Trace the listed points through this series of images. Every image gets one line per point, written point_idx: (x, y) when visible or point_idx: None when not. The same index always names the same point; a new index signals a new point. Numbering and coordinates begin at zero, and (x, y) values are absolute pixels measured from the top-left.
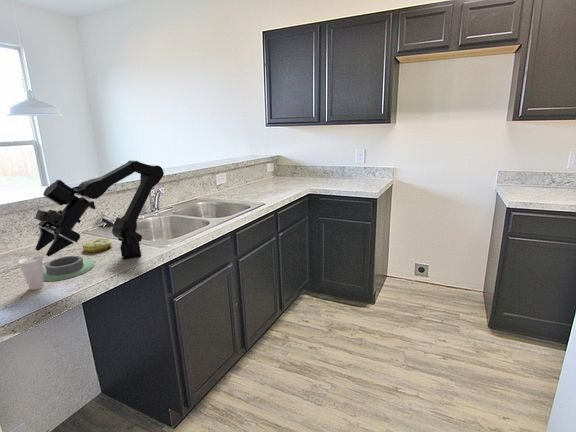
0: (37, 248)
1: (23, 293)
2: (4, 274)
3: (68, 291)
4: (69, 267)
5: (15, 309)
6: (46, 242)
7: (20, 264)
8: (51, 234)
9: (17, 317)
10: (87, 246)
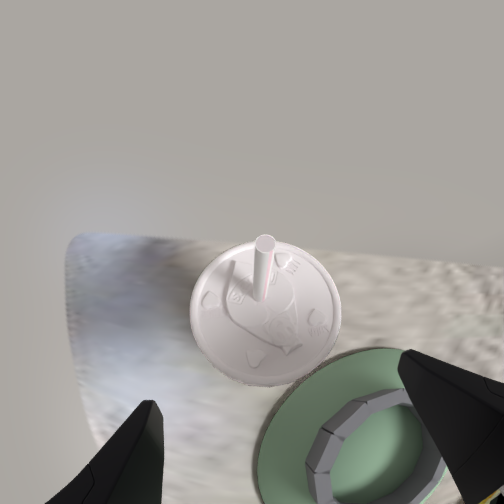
0: (406, 365)
1: None
2: (459, 263)
3: (113, 412)
4: (312, 481)
5: (118, 257)
6: (444, 434)
7: (234, 251)
8: (493, 481)
9: (70, 255)
10: (489, 500)
